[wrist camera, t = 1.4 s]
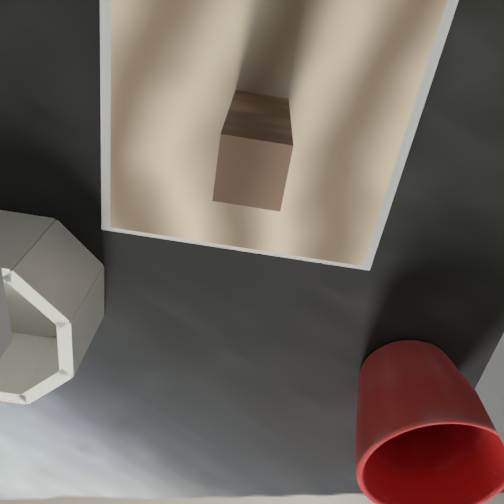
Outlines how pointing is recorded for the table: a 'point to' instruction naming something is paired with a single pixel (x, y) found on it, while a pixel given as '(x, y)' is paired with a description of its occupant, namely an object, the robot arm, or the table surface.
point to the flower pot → (423, 430)
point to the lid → (263, 118)
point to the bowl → (46, 304)
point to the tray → (105, 225)
